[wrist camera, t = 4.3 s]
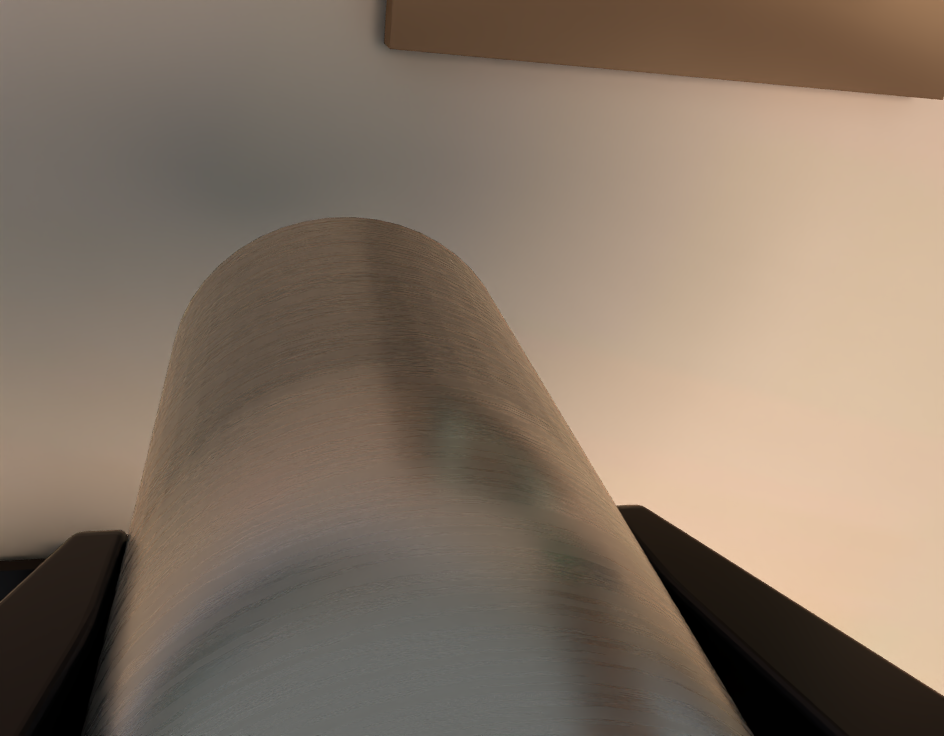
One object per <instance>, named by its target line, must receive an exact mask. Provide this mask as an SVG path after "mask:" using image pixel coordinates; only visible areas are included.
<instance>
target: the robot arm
mask: <svg viewBox="0 0 944 736" xmlns="http://www.w3.org/2000/svg"><path fill="white" fill-rule="evenodd" d="M617 508H618V510H619V511H620V513H621V515H622V516H623V518H624V520H625V521H626V523H627V525H628V526H629V528H630V530H631V531H632V533H633V535H634V536H635V538H636V540H637V541H638V543H639V545H640V546H641V548H642V550H643V552H644V553H645V555H646V557H647V558H648V560H649V562H650V563H651V565H652V567H653V568H654V570H655V572H656V573H657V575H658V577H659V578H660V580H661V582H662V583H663V585H664V587H665V588H666V590H667V592H668V593H669V595H670V597H671V598H672V600H673V602H674V603H675V605H676V607H677V608H678V610H679V612H680V613H681V615H682V617H683V618H684V620H685V622H686V623H687V625H688V627H689V628H690V630H691V632H692V633H693V635H694V637H695V638H696V640H697V642H698V643H699V645H700V647H701V648H702V650H703V652H704V653H705V655H706V657H707V658H708V660H709V662H710V663H711V665H712V667H713V668H714V670H715V672H716V673H717V675H718V677H719V678H720V680H721V682H722V683H723V685H724V687H725V688H726V690H727V692H728V693H729V695H730V697H731V698H732V700H733V702H734V703H735V705H736V707H737V708H738V710H739V712H740V713H741V715H742V717H743V718H744V720H745V722H746V723H747V725H748V727H749V728H750V730H751V732H752V733H753V735H754V736H944V696H943V695H941V694H940V693H938V692H936V691H935V690H933V689H932V688H930V687H928V686H927V685H925V684H924V683H922V682H921V681H919V680H917V679H916V678H914V677H913V676H911V675H910V674H908V673H906V672H905V671H903V670H902V669H900V668H898V667H897V666H895V665H894V664H892V663H891V662H889V661H887V660H886V659H884V658H883V657H881V656H879V655H878V654H876V653H875V652H873V651H872V650H870V649H868V648H867V647H865V646H864V645H862V644H861V643H859V642H857V641H856V640H854V639H853V638H851V637H849V636H848V635H846V634H845V633H843V632H842V631H840V630H838V629H837V628H835V627H834V626H832V625H830V624H829V623H827V622H826V621H824V620H823V619H821V618H819V617H818V616H816V615H815V614H813V613H812V612H810V611H808V610H807V609H805V608H804V607H802V606H800V605H799V604H797V603H796V602H794V601H793V600H791V599H789V598H788V597H786V596H785V595H783V594H781V593H780V592H778V591H777V590H775V589H774V588H772V587H770V586H769V585H767V584H766V583H764V582H762V581H761V580H759V579H758V578H756V577H755V576H753V575H751V574H750V573H748V572H747V571H745V570H744V569H742V568H740V567H739V566H737V565H736V564H734V563H732V562H731V561H729V560H728V559H726V558H725V557H723V556H721V555H720V554H718V553H717V552H715V551H713V550H712V549H710V548H709V547H707V546H706V545H704V544H702V543H701V542H699V541H698V540H696V539H695V538H693V537H691V536H690V535H688V534H687V533H685V532H683V531H682V530H680V529H679V528H677V527H676V526H674V525H672V524H671V523H669V522H668V521H666V520H664V519H663V518H661V517H660V516H658V515H657V514H655V513H653V512H652V511H650V510H649V509H647V508H645V507H643V506H641V505H619V506H617ZM127 539H128V536H127V535H126V533H125V532H123V531H122V530H107V531H86V532H79V533H76V534H75V535H73V536H71V537H70V538H69V539H68V540H67V541H66V542H65V543H64V544H62V545H61V546H60V547H59V548H58V549H57V550H56V551H55V552H54V553H53V554H52V555H51V556H49V557H48V558H47V559H31V560H12V561H0V736H81V732H82V728H83V724H84V720H85V716H86V711H87V707H88V703H89V699H90V695H91V690H92V686H93V682H94V678H95V673H96V669H97V665H98V661H99V657H100V652H101V648H102V644H103V640H104V636H105V631H106V627H107V623H108V619H109V615H110V610H111V606H112V602H113V598H114V594H115V589H116V585H117V581H118V577H119V572H120V568H121V564H122V560H123V556H124V551H125V547H126V543H127Z"/></svg>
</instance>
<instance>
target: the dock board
mask: <svg viewBox="0 0 944 736" xmlns="http://www.w3.org/2000/svg"><path fill="white" fill-rule="evenodd" d="M384 44H385V45H387V46H388V47H389V48H390V49H398V50H409V51H420V52H430V53H441V54H452V55H463V56H474V57H484V58H495V59H506V60H517V61H528V62H539V63H549V64H560V65H571V66H582V67H593V68H603V69H614V70H625V71H636V72H647V73H657V74H668V75H679V76H690V77H701V78H712V79H722V80H733V81H744V82H755V83H766V84H776V85H787V86H798V87H809V88H820V89H830V90H841V91H852V92H863V93H874V94H885V95H895V96H906V97H917V98H928V99H939V100H943V97H944V0H387V3H386V20H385V38H384Z"/></svg>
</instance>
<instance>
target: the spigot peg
mask: <svg viewBox="0 0 944 736" xmlns="http://www.w3.org/2000/svg"><path fill="white" fill-rule="evenodd" d="M81 736H754V735H753V733H752V732H751V730H750V728H749V727H748V725H747V723H746V722H745V720H744V718H743V717H742V715H741V713H740V712H739V710H738V708H737V707H736V705H735V703H734V702H733V700H732V698H731V697H730V695H729V693H728V692H727V690H726V688H725V687H724V685H723V683H722V682H721V680H720V678H719V677H718V675H717V673H716V672H715V670H714V668H713V667H712V665H711V663H710V662H709V660H708V658H707V657H706V655H705V653H704V652H703V650H702V648H701V647H700V645H699V643H698V642H697V640H696V638H695V637H694V635H693V633H692V632H691V630H690V628H689V627H688V625H687V623H686V622H685V620H684V618H683V617H682V615H681V613H680V612H679V610H678V608H677V607H676V605H675V603H674V602H673V600H672V598H671V597H670V595H669V593H668V592H667V590H666V588H665V587H664V585H663V583H662V582H661V580H660V578H659V577H658V575H657V573H656V572H655V570H654V568H653V567H652V565H651V563H650V562H649V560H648V558H647V557H646V555H645V553H644V552H643V550H642V548H641V546H640V545H639V543H638V541H637V540H636V538H635V536H634V535H633V533H632V531H631V530H630V528H629V526H628V525H627V523H626V521H625V520H624V518H623V516H622V515H621V513H620V511H619V510H618V508H617V506H616V505H615V503H614V501H613V500H612V498H611V496H610V495H609V493H608V491H607V490H606V488H605V486H604V485H603V483H602V481H601V480H600V478H599V476H598V475H597V473H596V471H595V470H594V468H593V466H592V465H591V463H590V461H589V460H588V458H587V456H586V455H585V453H584V451H583V450H582V448H581V446H580V445H579V443H578V441H577V440H576V438H575V436H574V435H573V433H572V431H571V430H570V428H569V426H568V425H567V423H566V421H565V420H564V418H563V416H562V415H561V413H560V411H559V410H558V408H557V406H556V405H555V403H554V401H553V400H552V398H551V396H550V395H549V393H548V391H547V390H546V388H545V386H544V385H543V383H542V381H541V380H540V378H539V376H538V375H537V373H536V371H535V370H534V368H533V366H532V365H531V363H530V361H529V360H528V358H527V356H526V355H525V353H524V351H523V350H522V348H521V346H520V345H519V343H518V341H517V340H516V338H515V336H514V334H513V333H512V331H511V329H510V328H509V326H508V324H507V323H506V321H505V319H504V318H503V316H502V314H501V313H500V311H499V309H498V308H497V306H496V304H495V303H494V301H493V299H492V298H491V296H490V294H489V293H488V291H487V289H486V288H485V286H484V285H483V284H482V282H481V281H480V280H479V278H478V277H477V276H476V275H475V273H474V272H473V271H472V270H471V269H470V268H469V267H468V266H467V265H466V264H465V263H464V262H463V261H462V260H461V259H460V258H459V257H458V256H457V255H455V254H454V253H453V252H451V251H450V250H448V249H447V248H446V247H444V246H443V245H442V244H440V243H438V242H437V241H435V240H433V239H431V238H429V237H427V236H425V235H423V234H422V233H419V232H417V231H414V230H411V229H409V228H406V227H403V226H401V225H397V224H393V223H389V222H385V221H380V220H375V219H365V218H356V217H342V218H324V219H318V220H311V221H305V222H301V223H298V224H294V225H291V226H287V227H284V228H281V229H278V230H276V231H274V232H271V233H269V234H266V235H264V236H262V237H259V238H258V239H256V240H254V241H253V242H251V243H249V244H248V245H246V246H244V247H243V248H241V249H239V250H238V251H237V252H235V253H234V254H233V255H232V256H230V257H229V258H228V259H226V260H225V261H224V262H223V263H221V264H220V265H219V266H218V267H217V268H216V269H215V270H214V271H213V273H212V274H211V275H210V276H209V277H208V278H207V279H206V280H205V281H204V282H203V284H202V285H201V287H200V288H199V289H198V291H197V292H196V294H195V295H194V296H193V298H192V299H191V301H190V303H189V305H188V307H187V309H186V311H185V313H184V315H183V317H182V319H181V322H180V325H179V328H178V331H177V334H176V337H175V341H174V345H173V349H172V354H171V358H170V362H169V366H168V370H167V375H166V379H165V383H164V387H163V391H162V396H161V400H160V404H159V408H158V412H157V417H156V421H155V425H154V429H153V434H152V438H151V442H150V446H149V450H148V455H147V459H146V463H145V467H144V471H143V476H142V480H141V484H140V488H139V492H138V497H137V501H136V505H135V509H134V514H133V518H132V522H131V526H130V530H129V535H128V539H127V543H126V547H125V551H124V556H123V560H122V564H121V568H120V572H119V577H118V581H117V585H116V589H115V594H114V598H113V602H112V606H111V610H110V615H109V619H108V623H107V627H106V631H105V636H104V640H103V644H102V648H101V652H100V657H99V661H98V665H97V669H96V673H95V678H94V682H93V686H92V690H91V695H90V699H89V703H88V707H87V711H86V716H85V720H84V724H83V728H82V732H81Z"/></svg>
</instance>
